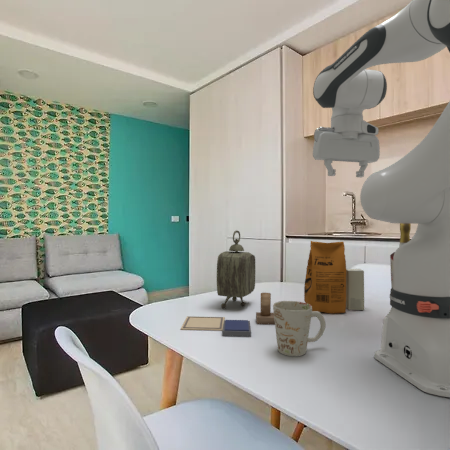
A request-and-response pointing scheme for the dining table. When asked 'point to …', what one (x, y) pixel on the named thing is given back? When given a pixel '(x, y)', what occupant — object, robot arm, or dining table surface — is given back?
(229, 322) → the ink pad
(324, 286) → the coffee package
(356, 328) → the dining table surface
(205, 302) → the dining table surface
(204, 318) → the card
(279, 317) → the mug
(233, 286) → the tabletop clock
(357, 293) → the box
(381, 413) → the dining table surface
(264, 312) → the stamp
